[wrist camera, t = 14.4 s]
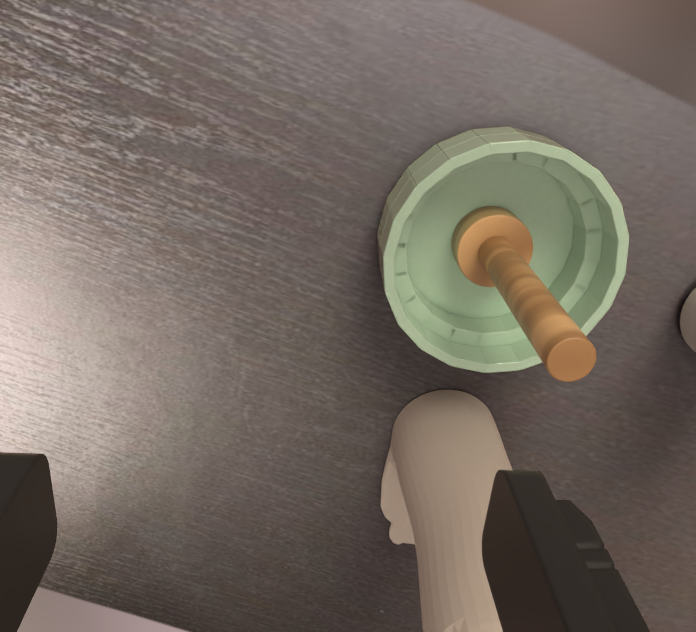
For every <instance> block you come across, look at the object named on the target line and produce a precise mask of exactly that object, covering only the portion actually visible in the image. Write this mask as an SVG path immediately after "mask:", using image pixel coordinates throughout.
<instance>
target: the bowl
mask: <svg viewBox="0 0 696 632" xmlns="http://www.w3.org/2000/svg"><path fill="white" fill-rule="evenodd" d="M485 206H498V207H502V208H505V209H507V210H509V211H511V212H512V213H513V214H515V215H516V216H517V217H518V219H519V220H520V221H521V222H522V223H523V224H524V225H525V226H526V227H527V229H528V230H529V232H530V234H531V237H532V240H533V254H532V258H531V261H530V263H529V266H530V267H531V269H532V270H533V271H534V272H535V274H536V275H537V276H538V277H539V278H540V280H541V281H542V282H543V283H544V285H545V286H546V287H547V288H548V290H549V291H550V292H551V293H552V295H553V296H554V297H555V298H556V300H557V301H558V302H559V303H560V305H561V306H562V307H563V308H564V310H565V311H566V312H567V313H568V315H569V316H570V317H571V318H572V320H573V321H574V322H575V323H576V325H577V326H578V327H579V328H580V330H581V331H582V332H583V333H584V335H585V336H587V335H588V333H589V332H590V331H591V330H592V329H593V328H594V326H595V325H596V324H597V323H598V322H599V321H600V319H601V318H602V317H603V316H604V315H605V313H606V312H607V311H608V310H609V308H610V307H611V305H612V303H613V301H614V298H615V296H616V294H617V292H618V289H619V287H620V285H621V283H622V281H623V278H624V276H625V271H626V263H627V254H628V245H629V234H628V230H627V225H626V221H625V217H624V213H623V208H622V204H621V202H620V200H619V198H618V197H617V195H616V194H615V193H614V191H613V190H612V188H611V187H610V185H609V184H608V182H607V181H606V179H605V178H604V176H603V175H602V173H601V172H600V171H599V170H597V169H596V168H595V167H593V166H592V165H590V164H589V163H587V162H586V161H584V160H583V159H582V158H580V157H579V156H577V155H576V154H574V153H573V152H572V151H570V150H568V149H567V148H565V147H563V146H561V145H559V144H558V143H556V142H554V141H552V140H551V139H549V138H547V137H545V136H543V135H540V134H536V133H532V132H528V131H525V130H521V129H517V128H513V127H508V126H507V127H494V128H481V129H472V130H468V131H466V132H464V133H461V134H459V135H456V136H454V137H451V138H449V139H446V140H444V141H442V142H439V143H437V144H435V145H434V146H433V147H431V148H430V149H429V150H428V151H427V152H425V153H424V154H423V155H422V156H420V157H419V158H418V159H417V160H416V161H414V162H413V163H412V164H411V165H410V166H408V167H407V169H406V170H405V171H404V173H403V174H402V176H401V177H400V179H399V181H398V182H397V184H396V185H395V187H394V188H393V190H392V191H391V193H390V194H389V196H388V197H387V199H386V202H385V206H384V209H383V213H382V217H381V220H380V224H379V227H378V231H377V232H378V233H377V239H378V257H379V267H380V272H381V277H382V281H383V286H384V291H385V295H386V297H387V299H388V302H389V304H390V307H391V309H392V311H393V314H394V316H395V319H396V321H397V323H398V325H399V326H400V327H401V328H402V329H403V331H404V332H405V333H406V334H407V335H408V336H409V337H410V338H411V339H412V341H413V342H414V343H415V344H416V345H417V346H418V347H419V348H420V349H421V350H423V351H424V352H426V353H428V354H430V355H432V356H433V357H435V358H437V359H439V360H441V361H442V362H444V363H446V364H448V365H450V366H453V367H458V368H463V369H467V370H472V371H477V372H482V373H492V372H505V371H518V370H523V369H525V368H528V367H531V366H534V365H537V364H539V363H542V361H541V359H540V357H539V356H538V354H537V353H536V351H535V349H534V348H533V346H532V345H531V343H530V341H529V340H528V338H527V336H526V335H525V333H524V332H523V330H522V328H521V327H520V325H519V324H518V322H517V320H516V319H515V317H514V315H513V314H512V312H511V311H510V309H509V307H508V306H507V304H506V303H505V301H504V299H503V298H502V296H501V294H500V293H499V291H498V290H497V288H496V287H484V286H480V285H477V284H475V283H473V282H471V281H470V280H469V279H467V278H466V277H465V276H464V274H463V273H462V272H461V270H460V268H459V266H458V264H457V262H456V260H455V258H454V256H453V253H452V246H451V242H452V236H453V233H454V230H455V228H456V226H457V225H458V223H459V222H460V221H461V219H462V218H463V217H465V216H466V215H467V214H468V213H470V212H471V211H473V210H475V209H478V208H481V207H485Z"/></svg>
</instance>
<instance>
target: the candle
mask: <svg viewBox="0 0 696 632" xmlns="http://www.w3.org/2000/svg"><path fill="white" fill-rule="evenodd" d="M498 470H512V467H511V465H510V462H509V460H508V457H507V454H506V451H505V448H504V446H503V443H502V440H501V437H500V434H499V432H498V429H497V426H496V424H495V421H494V419H493V417H492V414H491V412H490V411H489V409H488V408H487V406H486V405H485V404H484V403H483V402H482V401H480V400H479V399H478V398H476V397H475V396H473V395H471V394H468V393H465V392H463V391H457V390H437V391H432V392H429V393H426V394H423V395H421V396H419V397H417V398H415V399H414V400H412V401H411V402H410V403H408V404H407V405H406V406H405V407H404V408H403V409H402V411H401V412H400V413H399V415H398V416H397V418H396V420H395V422H394V425H393V429H392V438H391V444H390V448H389V452H388V455H387V459H386V463H385V468H384V472H383V477H382V484H381V509H382V511H383V513H384V516H385V518H387V519H388V520H389V521H390V522H391V526H390V529H389V536H390V539H391V540H392V541H393V543H395V544H398V545H399V544H401V543H408V544H414V545H415V547H416V555H417V563H418V573H419V586H420V600H421V612H422V624H423V632H503V630H502V627H501V623H500V620H499V617H498V613H497V610H496V607H495V603H494V600H493V596H492V593H491V590H490V586H489V583H488V580H487V576H486V573H485V569H484V565H483V559H482V534H483V529H484V524H485V519H486V515H487V510H488V505H489V501H490V496H491V491H492V487H493V482H494V478H495V475H496V473H497V471H498Z"/></svg>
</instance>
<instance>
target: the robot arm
mask: <svg viewBox="0 0 696 632" xmlns="http://www.w3.org/2000/svg"><path fill="white" fill-rule="evenodd" d="M56 537H57V517H56V510H55V503H54V497H53V490H52V483H51V476H50V469H49V463H48V460H47V457H46V456H45V455H44V454H31V453H0V632H17V630H18V628H19V626H20V624H21V621H22V619H23V617H24V615H25V613H26V611H27V608H28V606H29V604H30V602H31V600H32V598H33V596H34V593H35V592H36V589H37V587H38V585H39V583H40V581H41V579H42V577H43V574H44V572H45V570H46V568H47V566H48V564H49V562H50V559H51V557H52V554H53V551H54V547H55V543H56ZM482 559H483V565H484V569H485V573H486V576H487V580H488V583H489V586H490V590H491V593H492V596H493V600H494V603H495V607H496V610H497V613H498V617H499V620H500V623H501V627H502V630H503V632H650V631H649V629H648V627H647V625H646V623H645V621H644V619H643V617H642V616H641V614H640V612H639V610H638V608H637V606H636V604H635V602H634V600H633V598H632V597H631V595H630V593H629V591H628V589H627V587H626V585H625V583H624V581H623V580H622V578H621V576H620V574H619V572H618V570H615V568H614V565H615V564H614V562H613V561H612V559H611V557H610V555H609V553H608V551H607V550H605V549H604V544H603V542H602V540H601V538H600V536H599V534H598V532H597V530H596V528H595V526H594V525H593V523H592V521H591V520H590V519H589V518H588V517H587V516H586V515H585V514H584V513H583V512H581V511H580V510H579V509H578V508H577V507H576V506H575V505H574V504H573V503H572V502H571V501H570V500H555V498H554V496H553V494H552V492H551V490H550V488H549V486H548V484H547V481H546V479H545V477H544V476H543V474H542V473H541V472H540V471H524V470H498V471H497V473H496V475H495V478H494V482H493V487H492V491H491V496H490V501H489V505H488V510H487V515H486V519H485V524H484V529H483V534H482Z"/></svg>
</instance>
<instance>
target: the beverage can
mask: <svg viewBox="0 0 696 632" xmlns="http://www.w3.org/2000/svg"><path fill="white" fill-rule="evenodd" d="M680 329H681V333H682V336H683V338H684V340H685V342H686V343H687V345H688V346H689V347H690V348H691V349H692V350H693V351H695V352H696V287H695V288H694V290H693V291H692V292H691V293H690V295H689V296H688V298H687V299H686V301H685V303H684V305H683V308H682V311H681V316H680Z"/></svg>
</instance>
